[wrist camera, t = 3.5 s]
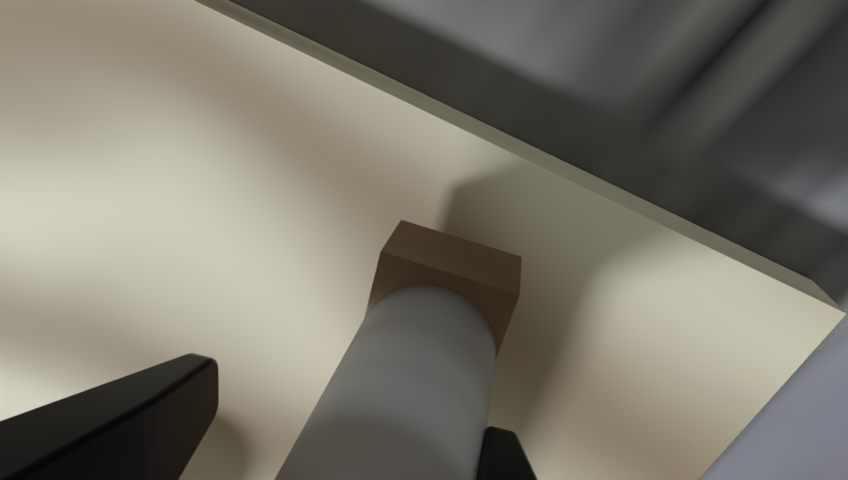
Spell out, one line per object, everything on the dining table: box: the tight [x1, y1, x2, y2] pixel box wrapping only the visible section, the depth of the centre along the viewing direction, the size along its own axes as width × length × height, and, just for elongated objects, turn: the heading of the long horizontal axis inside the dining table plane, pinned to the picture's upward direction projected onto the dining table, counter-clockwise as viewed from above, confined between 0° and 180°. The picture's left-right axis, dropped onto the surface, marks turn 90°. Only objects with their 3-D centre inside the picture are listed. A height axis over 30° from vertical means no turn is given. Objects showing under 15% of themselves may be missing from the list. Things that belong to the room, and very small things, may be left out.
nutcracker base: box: [0, 0, 846, 480], centre depth 14 cm, size 20×20×6 cm
